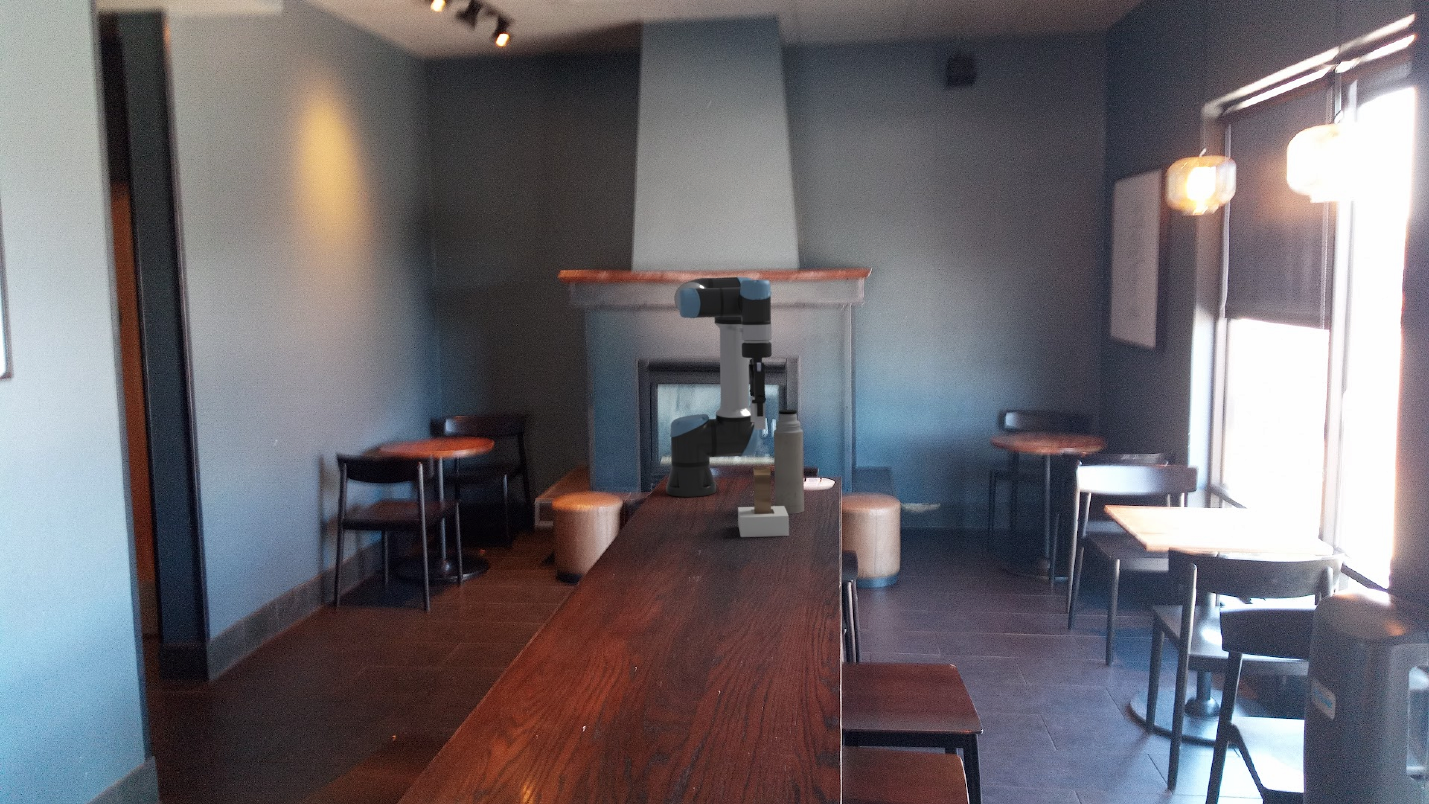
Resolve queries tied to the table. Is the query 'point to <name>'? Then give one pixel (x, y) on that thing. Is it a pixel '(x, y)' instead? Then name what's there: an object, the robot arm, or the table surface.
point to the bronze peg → (762, 490)
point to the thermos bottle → (789, 462)
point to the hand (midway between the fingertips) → (758, 425)
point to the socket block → (763, 522)
